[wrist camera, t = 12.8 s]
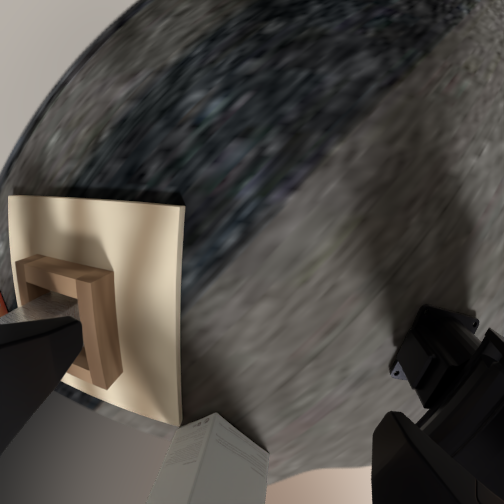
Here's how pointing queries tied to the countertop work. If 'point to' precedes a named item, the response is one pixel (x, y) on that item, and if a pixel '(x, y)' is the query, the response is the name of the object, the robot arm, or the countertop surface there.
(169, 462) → the skincare box
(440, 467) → the robot arm
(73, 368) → the collar board
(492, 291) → the countertop surface
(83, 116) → the countertop surface
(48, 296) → the gray block
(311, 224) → the countertop surface
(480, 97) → the countertop surface
